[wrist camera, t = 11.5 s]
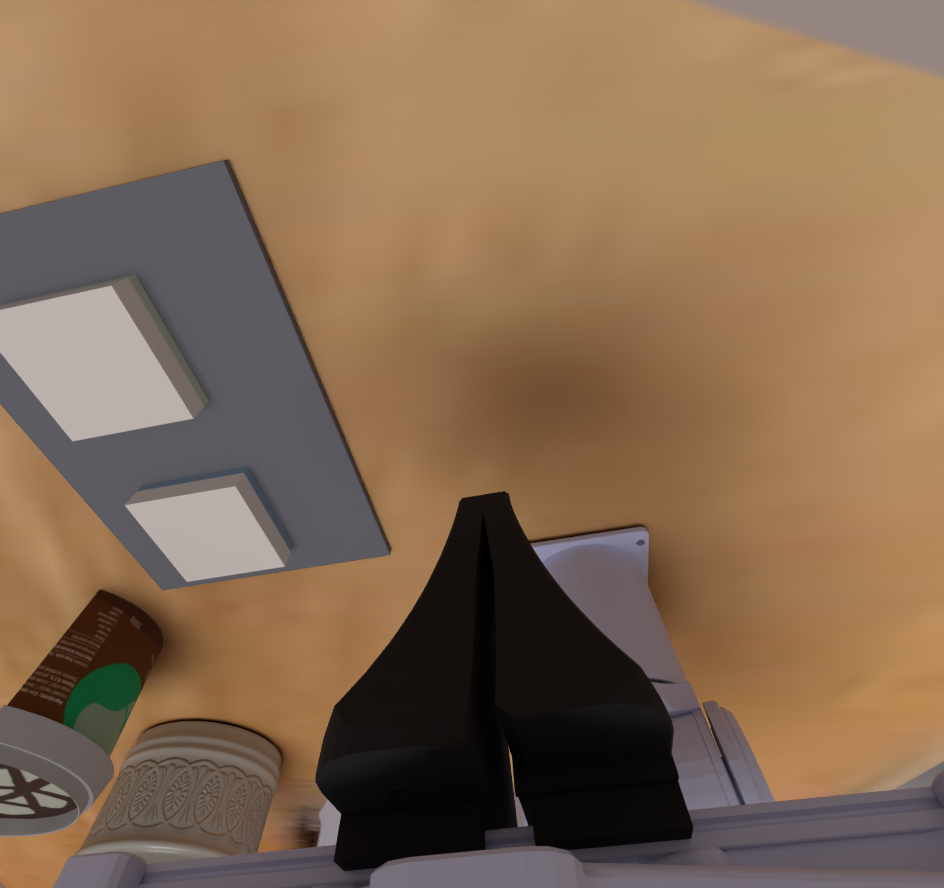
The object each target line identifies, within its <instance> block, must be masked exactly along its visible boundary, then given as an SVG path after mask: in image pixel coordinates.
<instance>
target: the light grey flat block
mask: <svg viewBox="0 0 944 888" xmlns="http://www.w3.org/2000/svg"><path fill="white" fill-rule="evenodd" d="M125 506H126V508H127V509H128V510H129V511H130V513H131V514H132V515H133V516H134V518H135V519H136V520H137V521H138V522H139V524H140V525H141V526H142V527H143V529H144V530H145V531H146V532H147V533H148V535H149V536H150V537H151V538H152V540H153V541H154V542H155V543H156V545H157V546H158V547H159V548H160V549H161V551H162V552H163V553H164V554H165V556H166V557H167V558H168V559H169V561H170V562H171V563H172V564H173V565H174V567H175V568H176V569H177V570H178V572H179V573H180V574H181V575H182V577H183V578H184V579H185V580H186V581H187V582H189V581H196V580H202V579H208V578H215V577H221V576H228V575H234V574H241V573H247V572H254V571H260V570H266V569H273V568H279V567H285V565H286V563H287V560H288V558H289V555H290V553H291V550H292V548H293V544H292V543H291V541H290V539H289V538H288V536H287V534H286V532H285V531H284V529H283V527H282V526H281V524H280V522H279V520H278V519H277V517H276V515H275V514H274V512H273V510H272V508H271V507H270V505H269V503H268V501H267V500H266V498H265V496H264V495H263V493H262V491H261V489H260V488H259V486H258V484H257V483H256V481H255V479H254V477H253V476H252V474H251V472H250V471H249V469H248V467H243V468H238V469H232V470H226V471H221V472H215V473H209V474H204V475H198V476H192V477H187V478H181V479H175V480H170V481H164V482H158V483H153V484H147V485H142V486H141V487H140V488H139V490H138V491H137V492H136V493H135V494H134V495H133V496H132V498H131V499H130V500H129V501H128V502H127V503H126V504H125Z"/></svg>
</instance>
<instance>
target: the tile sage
mask: <svg viewBox="0 0 944 888" xmlns="http://www.w3.org/2000/svg"><path fill="white" fill-rule="evenodd" d="M0 353H1V354H2V355H3V357H4V358H5V359H6V360H7V361H8V363H9V364H10V365H11V366H12V368H13V369H14V370H15V371H16V373H17V374H18V375H19V376H20V377H21V379H22V380H23V381H24V382H25V384H26V385H27V386H28V387H29V389H30V390H31V391H32V392H33V393H34V395H35V396H36V397H37V398H38V400H39V401H40V402H41V403H42V405H43V406H44V407H45V408H46V409H47V411H48V412H49V413H50V414H51V416H52V417H53V418H54V419H55V420H56V422H57V423H58V424H59V425H60V427H61V428H62V429H63V430H64V432H65V433H66V434H67V435H68V436H69V438H70V439H71V440H72V441H77V440H83V439H88V438H93V437H98V436H104V435H109V434H114V433H120V432H125V431H130V430H136V429H141V428H146V427H152V426H157V425H162V424H168V423H173V422H178V421H184V420H189V419H194V418H195V416H196V415H197V414H198V413H199V412H200V411H201V410H202V409H203V408H204V406H205V405H206V404H207V403H208V402H209V400H208V398H207V397H206V395H205V393H204V392H203V390H202V388H201V386H200V385H199V383H198V381H197V380H196V378H195V376H194V374H193V373H192V371H191V369H190V368H189V366H188V364H187V362H186V361H185V359H184V357H183V355H182V354H181V352H180V350H179V349H178V347H177V345H176V343H175V342H174V340H173V338H172V337H171V335H170V333H169V331H168V330H167V328H166V326H165V325H164V323H163V321H162V319H161V318H160V316H159V314H158V312H157V311H156V309H155V307H154V306H153V304H152V302H151V300H150V299H149V297H148V295H147V294H146V292H145V290H144V288H143V287H142V285H141V283H140V282H139V280H138V278H137V276H136V275H130V276H126V277H121V278H117V279H112V280H108V281H103V282H99V283H94V284H90V285H85V286H80V287H76V288H71V289H67V290H62V291H58V292H53V293H49V294H44V295H39V296H35V297H30V298H26V299H21V300H17V301H12V302H8V303H3V304H1V305H0Z"/></svg>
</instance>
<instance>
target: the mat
mask: <svg viewBox="0 0 944 888" xmlns="http://www.w3.org/2000/svg"><path fill="white" fill-rule="evenodd" d="M130 275H136V276H137V278H138V280H139V282H140V283H141V285H142V287H143V288H144V290H145V292H146V294H147V295H148V297H149V299H150V300H151V302H152V304H153V306H154V307H155V309H156V311H157V312H158V314H159V316H160V318H161V319H162V321H163V323H164V325H165V326H166V328H167V330H168V331H169V333H170V335H171V337H172V338H173V340H174V342H175V343H176V345H177V347H178V349H179V350H180V352H181V354H182V355H183V357H184V359H185V361H186V362H187V364H188V366H189V368H190V369H191V371H192V373H193V374H194V376H195V378H196V380H197V381H198V383H199V385H200V386H201V388H202V390H203V392H204V393H205V395H206V397H207V398H208V400H209V402H208V403H207V404H206V405H205V406H204V408H203V409H202V410H201V411H200V412H199V413H198V414H197V415H196V416H195V418H194V419H189V420H184V421H178V422H173V423H168V424H162V425H157V426H152V427H146V428H141V429H136V430H130V431H125V432H120V433H114V434H109V435H104V436H98V437H93V438H88V439H83V440H77V441H72V440H71V439H70V438H69V436H68V435H67V434H66V433H65V432H64V430H63V429H62V428H61V427H60V425H59V424H58V423H57V422H56V420H55V419H54V418H53V417H52V416H51V414H50V413H49V412H48V411H47V409H46V408H45V407H44V406H43V405H42V403H41V402H40V401H39V400H38V398H37V397H36V396H35V395H34V393H33V392H32V391H31V390H30V389H29V387H28V386H27V385H26V384H25V382H24V381H23V380H22V379H21V377H20V376H19V375H18V374H17V373H16V371H15V370H14V369H13V368H12V366H11V365H10V364H9V363H8V361H7V360H6V359H5V358H4V357H3V355H2V354H1V353H0V404H1V405H2V407H3V408H4V409H5V410H6V411H7V412H8V413H9V415H10V416H11V417H12V418H13V419H14V420H15V421H16V423H17V424H18V425H19V426H20V427H21V428H22V429H23V431H24V432H25V433H26V434H27V435H28V436H29V438H30V439H31V440H32V441H33V442H34V443H35V444H36V446H37V447H38V448H39V449H40V450H41V451H42V452H43V454H44V455H45V456H46V457H47V458H48V459H49V460H50V462H51V463H52V464H53V465H54V466H55V467H56V469H57V470H58V471H59V472H60V473H61V474H62V475H63V477H64V478H65V479H66V480H67V481H68V482H69V483H70V485H71V486H72V487H73V488H74V489H75V490H76V492H77V493H78V494H79V495H80V496H81V497H82V498H83V500H84V501H85V502H86V503H87V504H88V505H89V506H90V508H91V509H92V510H93V511H94V512H95V513H96V514H97V516H98V517H99V518H100V519H101V520H102V521H103V523H104V524H105V525H106V526H107V527H108V528H109V529H110V531H111V532H112V533H113V534H114V535H115V536H116V537H117V539H118V540H119V541H120V542H121V543H122V544H123V545H124V547H125V548H126V549H127V550H128V551H129V552H130V554H131V555H132V556H133V557H134V558H135V559H136V560H137V562H138V563H139V564H140V565H141V566H142V567H143V568H144V570H145V571H146V572H147V573H148V574H149V575H150V576H151V578H152V579H153V580H154V581H155V582H156V583H157V585H158V586H159V587H160V588H161V589H162V590H167V589H173V588H180V587H186V586H193V585H199V584H206V583H212V582H219V581H225V580H232V579H238V578H245V577H251V576H258V575H264V574H271V573H277V572H284V571H290V570H297V569H303V568H310V567H316V566H323V565H329V564H335V563H342V562H348V561H355V560H361V559H368V558H374V557H381V556H387V555H390V553H391V549H390V547H389V544H388V542H387V540H386V537H385V535H384V533H383V530H382V528H381V525H380V523H379V521H378V518H377V516H376V513H375V511H374V509H373V506H372V504H371V501H370V499H369V497H368V494H367V492H366V489H365V487H364V485H363V482H362V480H361V477H360V475H359V473H358V470H357V468H356V466H355V463H354V461H353V458H352V456H351V454H350V451H349V449H348V446H347V444H346V442H345V439H344V437H343V434H342V432H341V430H340V427H339V425H338V422H337V420H336V418H335V415H334V413H333V410H332V408H331V406H330V403H329V401H328V399H327V396H326V394H325V391H324V389H323V387H322V384H321V382H320V379H319V377H318V375H317V372H316V370H315V367H314V365H313V363H312V360H311V358H310V355H309V353H308V351H307V348H306V346H305V344H304V341H303V339H302V336H301V334H300V332H299V329H298V327H297V324H296V322H295V320H294V317H293V315H292V312H291V310H290V308H289V305H288V303H287V300H286V298H285V296H284V293H283V291H282V288H281V286H280V284H279V281H278V279H277V277H276V274H275V272H274V269H273V267H272V265H271V262H270V260H269V257H268V255H267V253H266V250H265V248H264V245H263V243H262V241H261V238H260V236H259V233H258V231H257V229H256V226H255V224H254V221H253V219H252V217H251V214H250V212H249V210H248V207H247V205H246V202H245V200H244V198H243V195H242V193H241V190H240V188H239V186H238V183H237V181H236V178H235V176H234V174H233V171H232V169H231V166H230V164H229V162H228V160H224V161H219V162H215V163H211V164H207V165H203V166H198V167H194V168H190V169H186V170H182V171H178V172H173V173H169V174H165V175H161V176H157V177H152V178H148V179H144V180H140V181H136V182H132V183H127V184H123V185H119V186H115V187H111V188H106V189H102V190H98V191H94V192H90V193H85V194H81V195H77V196H73V197H69V198H65V199H60V200H56V201H52V202H48V203H44V204H39V205H35V206H31V207H27V208H23V209H19V210H14V211H10V212H6V213H2V214H0V305H1V304H3V303H8V302H12V301H17V300H21V299H26V298H30V297H35V296H39V295H44V294H49V293H53V292H58V291H62V290H67V289H71V288H76V287H80V286H85V285H90V284H94V283H99V282H103V281H108V280H112V279H117V278H121V277H126V276H130ZM243 467H248V469H249V471H250V472H251V474H252V476H253V477H254V479H255V481H256V483H257V484H258V486H259V488H260V489H261V491H262V493H263V495H264V496H265V498H266V500H267V501H268V503H269V505H270V507H271V508H272V510H273V512H274V514H275V515H276V517H277V519H278V520H279V522H280V524H281V526H282V527H283V529H284V531H285V532H286V534H287V536H288V538H289V539H290V541H291V543H292V544H293V548H292V550H291V553H290V555H289V558H288V560H287V563H286V565H285V567H279V568H273V569H266V570H260V571H254V572H247V573H241V574H234V575H228V576H221V577H215V578H208V579H202V580H196V581H189V582H187V581H186V580H185V579H184V578H183V577H182V575H181V574H180V573H179V572H178V570H177V569H176V568H175V567H174V565H173V564H172V563H171V562H170V561H169V559H168V558H167V557H166V556H165V554H164V553H163V552H162V551H161V549H160V548H159V547H158V546H157V545H156V543H155V542H154V541H153V540H152V538H151V537H150V536H149V535H148V533H147V532H146V531H145V530H144V529H143V527H142V526H141V525H140V524H139V522H138V521H137V520H136V519H135V518H134V516H133V515H132V514H131V513H130V511H129V510H128V509H127V508H126V506H125V504H126V503H127V502H128V501H129V500H130V499H131V498H132V496H133V495H134V494H135V493H136V492H137V491H138V490H139V488H140V487H141V486H142V485H147V484H153V483H158V482H164V481H170V480H175V479H181V478H187V477H192V476H198V475H204V474H209V473H215V472H221V471H226V470H232V469H238V468H243Z"/></svg>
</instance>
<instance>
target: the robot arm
mask: <svg viewBox="0 0 944 888" xmlns="http://www.w3.org/2000/svg"><path fill="white" fill-rule="evenodd" d="M639 540H641V541H639ZM648 558H649V533H648V531H647V529H646V528H644V527H635V528H629V529H622V530H616V531H609V532H602V533H596V534H589V535H583V536H576V537H570V538H563V539H557V540H550V541H543V542H537V543H530V542H529V541H528V539H527V537H526V535H525V534H524V532H523V530H522V528H521V526H520V524H519V522H518V520H517V518H516V515H515V513H514V511H513V508H512V505H511V502H510V497H509V494H508V493H506V492H505V491H503V492H497V493H491V494H485V495H479V496H473V497H466V498H462V499H461V500H460V502H459V506H458V510H457V513H456V517H455V520H454V523H453V526H452V528H451V531H450V534H449V537H448V539H447V541H446V544H445V546H444V549H443V551H442V554H441V556H440V558H439V560H438V562H437V565H436V567H435V569H434V571H433V573H432V575H431V577H430V579H429V581H428V583H427V585H426V587H425V588H424V590H423V592H422V594H421V596H420V597H419V599H418V601H417V602H416V604H415V606H414V607H413V609H412V611H411V612H410V614H409V615H408V617H407V618H406V620H405V621H404V623H403V624H402V626H401V627H400V629H399V630H398V632H397V633H396V634H395V636H394V637H393V639H392V640H391V641H390V643H389V644H388V645H387V646H386V648H385V649H384V650H383V651H382V653H381V654H380V655H379V657H378V658H377V659H376V660H375V662H374V663H373V664H372V665H371V667H370V668H369V669H368V670H367V671H366V673H365V674H364V675H363V676H362V677H361V678H360V679H359V680H358V681H357V682H356V684H355V685H354V686H353V687H352V688H351V689H350V690H349V691H348V692H347V693H346V694H345V696H344V697H343V698H342V699H341V700H340V701H339V702H338V703H337V704H336V705H335V706H334V709H333V712H332V715H331V718H330V721H329V724H328V727H327V730H326V733H325V736H324V739H323V744H322V748H321V753H320V757H319V762H318V766H317V771H316V780H315V782H316V784H317V786H318V787H319V789H320V791H321V792H322V793H323V795H324V796H325V797H326V798H327V799H328V800H329V801H330V802H331V803H332V804H333V805H334V807H336V809H337V810H338V811H339V812H340V813H341V819H340V825H339V831H338V837H337V843H336V845H332V846H322V847H312V848H301V849H291V850H281V851H271V852H261V853H251V854H241V855H230V856H220V857H210V858H200V859H190V860H180V861H170V862H160V863H149V864H147V863H146V861H145V860H144V859H142V858H141V857H139V856H137V855H135V854H132V853H129V852H123V851H112V852H103V853H93V854H83V855H74V856H72V857H70V858H69V859H68V860H67V862H66V864H65V866H64V868H63V869H62V871H61V873H60V875H59V877H58V879H57V881H56V883H55V885H54V886H53V888H944V770H943V771H942V772H940V773H939V774H938V775H937V776H936V777H935V778H934V780H933V783H932V786H930V787H919V788H910V789H899V790H889V791H879V792H869V793H859V794H849V795H838V796H828V797H818V798H808V799H798V800H788V801H778V802H775V801H774V798H773V796H772V794H771V792H770V789H769V787H768V785H767V783H766V780H765V778H764V776H763V774H762V772H761V769H760V767H759V765H758V763H757V761H756V758H755V756H754V754H753V752H752V750H751V748H750V746H749V744H748V742H747V740H746V737H745V735H744V733H743V731H742V729H741V728H740V726H739V724H738V722H737V720H736V718H735V717H734V715H733V714H732V712H730V711H728V710H727V709H725V708H723V707H720V706H719V705H718V703H717V702H715V701H708V702H705V703H702V704H703V706H704V709H705V712H706V715H707V717H708V720H709V722H710V725H711V730H712V733H713V736H714V738H715V741H716V743H717V746H718V748H719V751H720V753H721V756H722V757H721V756H720V753H719V751H718V749H717V746H716V744H715V741H714V739H713V737H712V734H711V732H710V729H709V727H708V725H707V722H706V720H705V718H704V715H703V713H702V711H701V708H700V706H699V703H698V701H697V698H696V696H695V694H694V691H693V689H692V686H691V684H690V682H688V681H687V680H686V677H685V675H684V672H683V670H682V668H681V665H680V663H679V660H678V658H677V655H676V653H675V650H674V648H673V645H672V643H671V641H670V638H669V636H668V633H667V631H666V628H665V626H664V623H663V621H662V618H661V616H660V614H659V611H658V609H657V606H656V604H655V601H654V599H653V596H652V594H651V592H650V589H649V587H648ZM508 746H509V748H508ZM509 749H510V752H511V755H512V762H513V774H514V786H515V794H516V797H519V800H520V810H521V818H522V825H523V827H518V825H517V817H516V809H515V800H514V792H513V783H512V775H511V766H510V757H509Z"/></svg>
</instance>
